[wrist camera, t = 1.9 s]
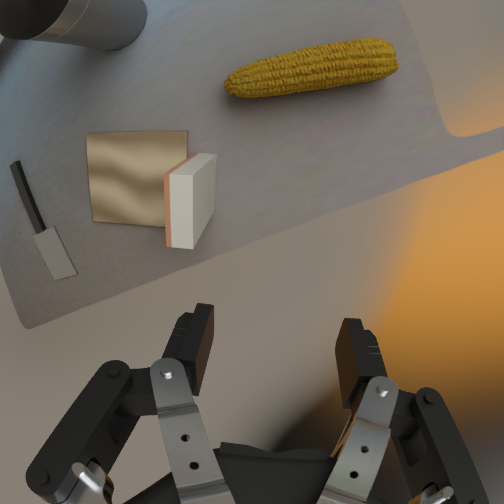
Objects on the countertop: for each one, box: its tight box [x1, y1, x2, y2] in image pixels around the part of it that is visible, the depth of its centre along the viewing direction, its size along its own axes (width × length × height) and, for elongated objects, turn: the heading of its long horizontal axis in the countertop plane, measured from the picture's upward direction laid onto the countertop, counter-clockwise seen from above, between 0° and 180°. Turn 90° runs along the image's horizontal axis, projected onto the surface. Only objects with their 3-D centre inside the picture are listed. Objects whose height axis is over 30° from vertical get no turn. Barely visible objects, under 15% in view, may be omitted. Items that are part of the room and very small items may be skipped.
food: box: [224, 38, 399, 98], centre depth 31 cm, size 21×6×6 cm, turn 107°
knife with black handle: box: [10, 160, 78, 280], centre depth 46 cm, size 24×7×1 cm, turn 16°
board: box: [86, 131, 188, 227], centre depth 42 cm, size 14×16×1 cm
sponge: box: [164, 153, 217, 249], centre depth 36 cm, size 8×3×12 cm, turn 176°
